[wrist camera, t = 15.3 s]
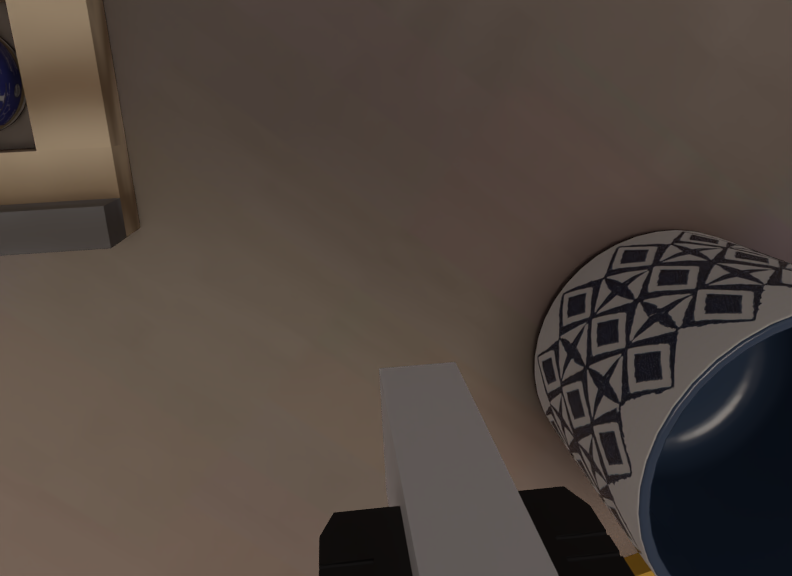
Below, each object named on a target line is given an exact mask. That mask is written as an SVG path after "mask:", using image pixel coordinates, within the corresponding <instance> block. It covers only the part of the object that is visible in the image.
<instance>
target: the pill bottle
mask: <svg viewBox="0 0 792 576" xmlns="http://www.w3.org/2000/svg"><path fill="white" fill-rule="evenodd" d="M25 103H26V98H25V93H24V88H23V83H22V78H21V73H20V69H19V64H18V59H17V55H16V53H15V52H14V50H13V49H12V48H11V47H10V46H9V45H8V44H7V43H6V42H5V41H4V40H3V39H1V38H0V130H2V129H4V128H6V127H7V126H9V125H10V124H11V123H13V122H14V121H15V120H16V119H17V118H18V116H19V115H20V113H21V112H22V110H23V108H24V106H25Z"/></svg>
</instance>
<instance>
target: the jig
mask: <svg viewBox="0 0 792 576" xmlns="http://www.w3.org/2000/svg"><path fill="white" fill-rule="evenodd" d="M0 2H6V6H7V11H8V16H9V20H10V25H11V30H12V35H13V40H14V44H15V49H16V54H17V59H18V64H19V69H20V73H21V78H22V83H23V88H24V93H25V98H26V102H27V107H28V112H29V117H30V122H31V127H32V131H33V136H34V141H35V146H36V148H30V149H11V150H0V256H2V255H17V254H32V253H47V252H62V251H77V250H92V249H107V248H112V247H113V246H115V245H116V244H118V243H119V242H120V241H122V240H123V239H125V238H126V237H128V236H129V235H130V234H132V233H133V232H135V231H136V230H137V229H139V228H140V222H139V216H138V210H137V204H136V198H135V192H134V186H133V180H132V174H131V168H130V162H129V156H128V150H127V144H126V138H125V132H124V126H123V120H122V114H121V108H120V102H119V96H118V90H117V84H116V78H115V72H114V66H113V60H112V54H111V48H110V42H109V36H108V30H107V24H106V17H105V11H104V5H103V0H0Z"/></svg>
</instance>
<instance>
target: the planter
mask: <svg viewBox="0 0 792 576" xmlns="http://www.w3.org/2000/svg"><path fill="white" fill-rule="evenodd" d="M535 381H536V387H537V393H538V397H539V399H540V402H541V405H542V408H543V411H544V412H545V414H546V416H547V418H548V419H549V421H550V423H551V425H552V426H553V428H554V429H555V431H556V432H557V434H558V435H559V437H560V438H561V440H562V441H563V443H564V444H565V446H566V447H567V449H568V450H569V452H570V453H571V455H572V456H573V457H574V459H575V460H576V462H577V463H578V465H579V466H580V468H581V469H582V471H583V472H584V474H585V475H586V477H587V478H588V479H589V481H590V482H591V484H592V485H593V487H594V488H595V490H596V491H597V493H598V494H599V496H600V497H601V498H602V500H603V501H604V503H605V504H606V506H607V507H608V509H609V510H610V512H611V513H612V514H613V516H614V517H615V519H616V520H617V522H618V523H619V525H620V526H621V528H622V529H623V530H624V532H625V533H626V535H627V536H628V538H629V539H630V541H631V542H632V544H633V545H634V546H635V548H636V549H637V551H638V552H639V554H640V555H641V556H642V558H643V559H644V561H645V562H646V563H647V565H648V566H649V568H650V569H651V570H652V572H653V573H654V575H655V576H792V264H791V263H788V262H785V261H782V260H780V259H777V258H774V257H771V256H769V255H766V254H763V253H760V252H757V251H755V250H752V249H749V248H746V247H744V246H741V245H738V244H735V243H732V242H729V241H726V240H724V239H721V238H718V237H715V236H711V235H707V234H703V233H699V232H694V231H682V230H672V231H660V232H653V233H649V234H645V235H641V236H637V237H634V238H631V239H629V240H627V241H624V242H622V243H619V244H617V245H615V246H613V247H611V248H610V249H608V250H606V251H604V252H603V253H601V254H599V255H598V256H596V257H595V258H594V259H592V260H591V261H590V262H589V263H587V264H586V265H585V266H584V267H582V268H581V269H580V270H579V271H578V272H577V273H576V274H575V275H574V276H573V277H572V278H571V280H570V281H569V282H568V283H567V284H566V285H565V286H564V288H563V289H562V291H561V292H560V293H559V295H558V296H557V298H556V299H555V300H554V302H553V304H552V306H551V308H550V310H549V312H548V314H547V316H546V317H545V319H544V322H543V325H542V328H541V331H540V334H539V337H538V342H537V348H536V354H535Z"/></svg>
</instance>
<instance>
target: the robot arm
mask: <svg viewBox="0 0 792 576" xmlns="http://www.w3.org/2000/svg"><path fill="white" fill-rule="evenodd" d="M379 373H380V390H381V407H382V424H383V441H384V458H385V475H386V491H387V497H388V504H389V507H383V508H374V509H364V510H355V511H345V512H336V513H333V515H332V517H331V518H330V520H329V522H328V524H327V525H326V527H325V529H324V530H323V532H322V534H321V535H320V540H319V576H635V575H634V573H633V572H632V570H631V568H630V567H629V565H628V564H627V562H626V561H625V559H624V558H623V556H620V554H619V550H618V548H617V547H616V545H615V544H614V542H613V540H612V539H611V537H610V536H609V535H607V534H606V530H605V528H604V526H603V525H602V523H601V522H600V520H599V519H598V517H597V516H596V514H595V512H594V511H593V509H592V508H591V506H590V505H589V504H587V503H586V502H584V501H583V500H582V499H580V498H579V497H578V496H576V495H575V494H573V493H572V492H571V491H569V490H568V489H567V488H565V487H564V486H562V487H553V488H543V489H534V490H524V491H518V490H517V488H516V486H515V484H514V482H513V480H512V478H511V476H510V474H509V472H508V470H507V468H506V466H505V464H504V462H503V460H502V457H501V455H500V453H499V451H498V449H497V447H496V445H495V443H494V441H493V439H492V437H491V435H490V433H489V431H488V429H487V426H486V424H485V422H484V420H483V418H482V416H481V414H480V412H479V410H478V408H477V406H476V404H475V402H474V400H473V398H472V395H471V393H470V391H469V389H468V387H467V385H466V383H465V381H464V379H463V377H462V375H461V373H460V371H459V369H458V367H457V365H456V362H450V363H438V364H427V365H415V366H403V367H392V368H380V369H379Z"/></svg>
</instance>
